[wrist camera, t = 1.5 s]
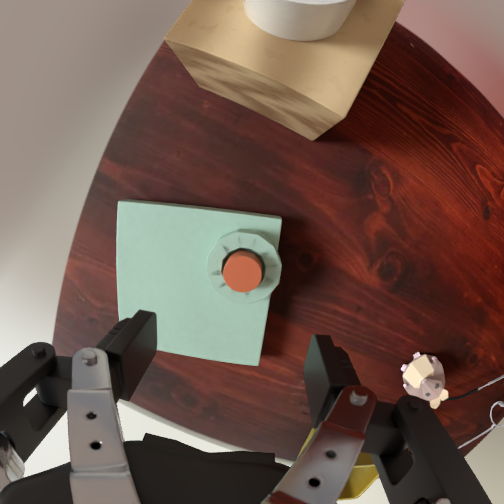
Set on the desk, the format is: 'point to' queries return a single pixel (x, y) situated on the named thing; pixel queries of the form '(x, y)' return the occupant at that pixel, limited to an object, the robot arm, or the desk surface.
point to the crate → (282, 61)
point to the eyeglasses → (490, 412)
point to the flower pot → (356, 475)
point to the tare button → (242, 271)
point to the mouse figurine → (425, 379)
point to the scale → (196, 276)
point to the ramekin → (299, 17)
